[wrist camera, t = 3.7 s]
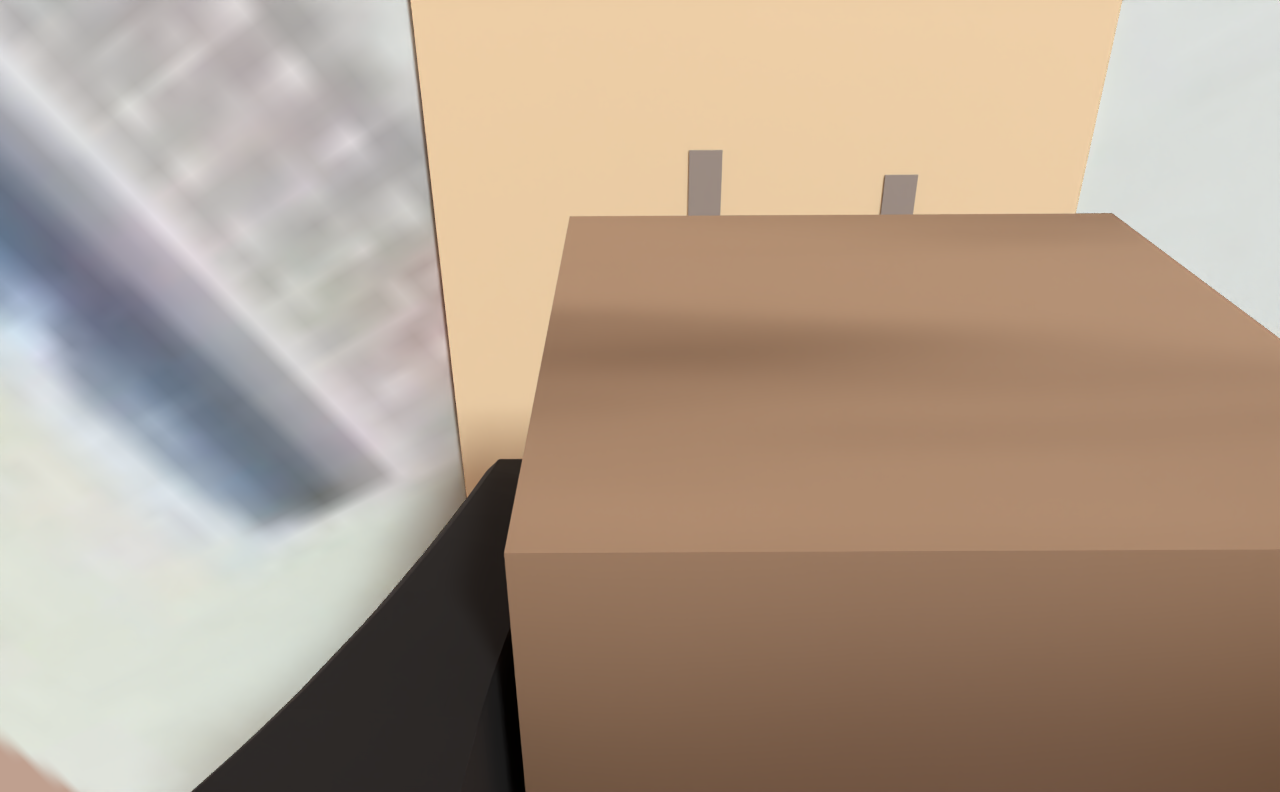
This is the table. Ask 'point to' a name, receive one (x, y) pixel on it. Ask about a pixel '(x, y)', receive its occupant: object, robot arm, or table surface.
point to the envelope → (722, 137)
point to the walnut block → (896, 512)
